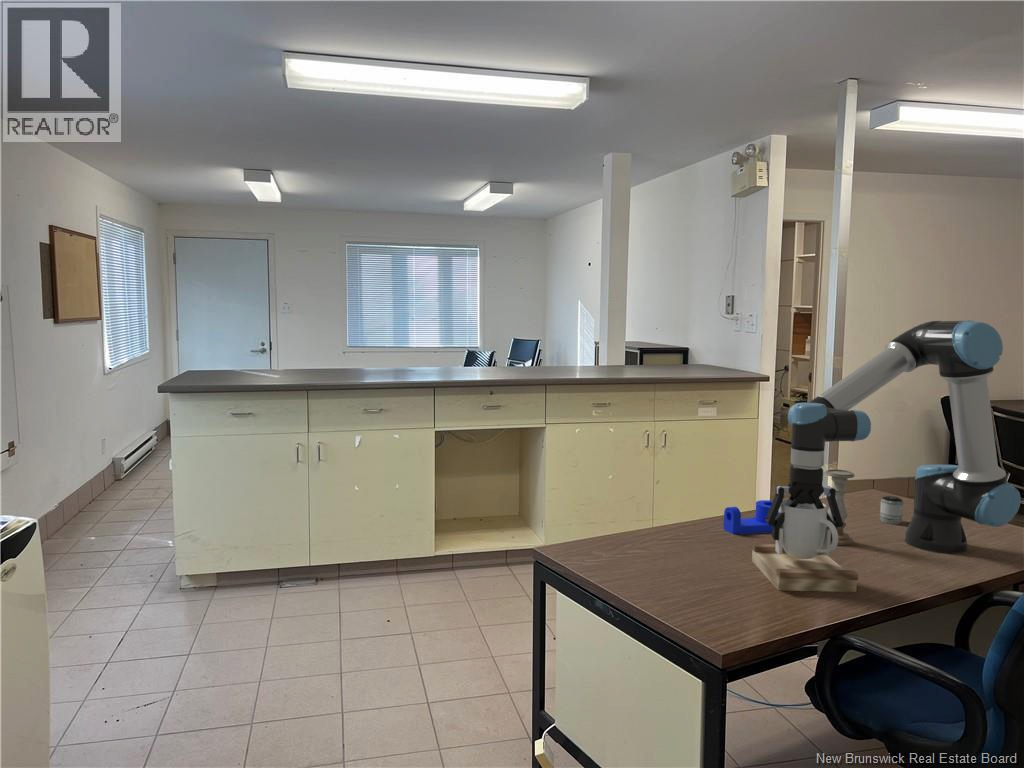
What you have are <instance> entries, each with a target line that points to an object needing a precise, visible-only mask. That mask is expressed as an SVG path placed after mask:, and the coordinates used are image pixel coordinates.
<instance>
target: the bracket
mask: <svg viewBox="0 0 1024 768" xmlns="http://www.w3.org/2000/svg"><path fill="white" fill-rule="evenodd" d="M772 502H773V500H768V499H767V500H766V499H765V500H763V499H762V500H761V499H760V500H757V501H755V510H754V511H755V515H754V516H755V517H748V518H742V514H741V510H740V509H739V507H737V506H727V507H725V508H724V512H723V530H724V531H725V532H728V533H730V534H732V535H737V534H738V535H740V534H741V535H742V534H744V535H745V534H764V533H765V532H770V533H772V531H773V526H771V525H769V524H767V523H766V522H765V519H766V516H767V514H768V511H769V509H770V507H771V504H772ZM778 514H779V511H778V513H777V515H778ZM777 515H776V516H777Z"/></svg>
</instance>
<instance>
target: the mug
mask: <svg viewBox="0 0 1024 768" xmlns="http://www.w3.org/2000/svg"><path fill="white" fill-rule="evenodd" d="M787 500H788V498H783V501H782V503H781V506H780V508H779V512H780V513H784V512H785V520H784V522H783V524H782V525H781V526H780V527H782V528H783V548H784V550H785V552H786V553H787V554H788V555H789V556H791V557H795V558H799V559H811V558H814V557H815V556H816V555H817V554H818V553H829V552H830V553H832V552H833V551H835V549H836V548H837V546H838V545H837V544H838V533H837V530H836V527H835V526H834V525H833V523H831V522H830V521H829V520H827V511H828V508H827V504H825V503H823V502H822V504H823V506H824V508H823V509H817V508H816V507H815V505H814V504H807V503H806V504H799V503H798V505H797V506H796V507H794V508H793V507H789V506H785V504H786V503H787ZM827 526H828V527H829V528H830V530H831V533H832V544H830V548H829V549H821V547H822V544H823V541H824V537H825V531H826V527H827Z"/></svg>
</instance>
